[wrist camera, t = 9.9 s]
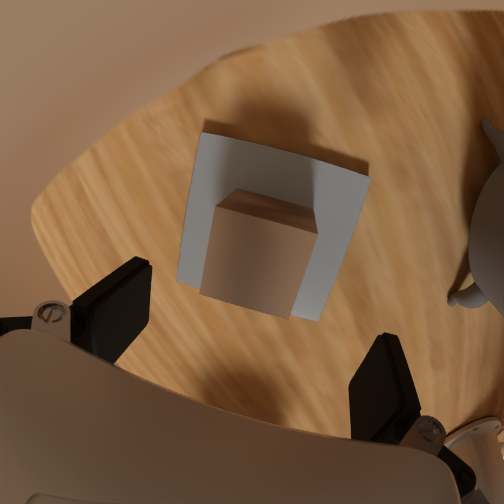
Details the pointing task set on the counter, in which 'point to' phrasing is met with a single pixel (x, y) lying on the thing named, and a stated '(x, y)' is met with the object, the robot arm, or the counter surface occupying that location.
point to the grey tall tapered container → (487, 237)
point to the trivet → (280, 187)
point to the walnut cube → (258, 252)
